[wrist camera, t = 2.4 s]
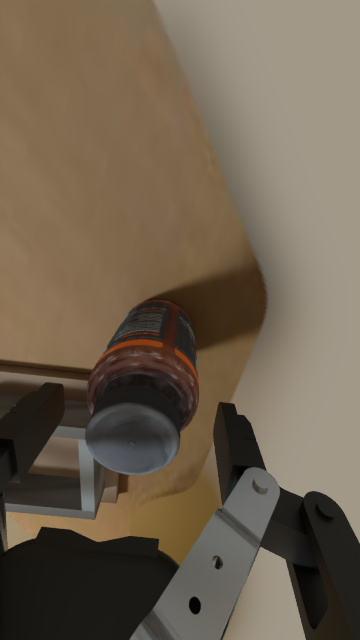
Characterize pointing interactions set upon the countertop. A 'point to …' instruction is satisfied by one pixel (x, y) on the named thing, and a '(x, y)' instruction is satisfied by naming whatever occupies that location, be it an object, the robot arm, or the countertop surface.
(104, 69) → the countertop surface
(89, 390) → the supplement bottle
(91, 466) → the socket board
